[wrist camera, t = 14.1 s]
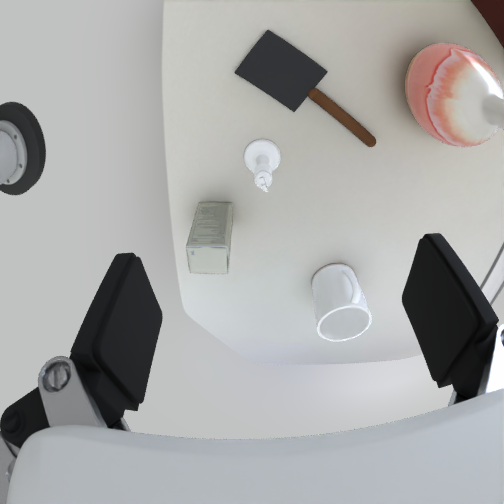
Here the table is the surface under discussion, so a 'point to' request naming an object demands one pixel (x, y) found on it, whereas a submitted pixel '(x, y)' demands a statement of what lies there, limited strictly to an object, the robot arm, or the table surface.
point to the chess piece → (262, 161)
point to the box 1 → (210, 238)
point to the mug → (339, 303)
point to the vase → (454, 95)
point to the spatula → (293, 79)
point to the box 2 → (493, 15)
